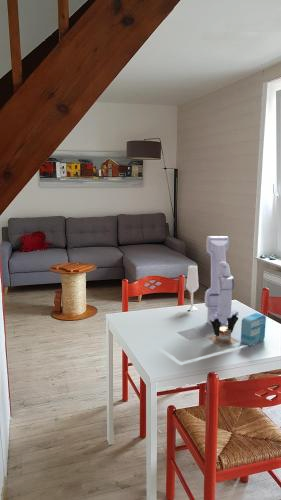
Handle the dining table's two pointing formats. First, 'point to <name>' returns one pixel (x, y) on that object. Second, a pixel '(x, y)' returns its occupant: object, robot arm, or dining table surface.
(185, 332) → the slate stand
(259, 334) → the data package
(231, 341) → the walnut stand
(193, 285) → the champagne flute
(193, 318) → the dining table surface
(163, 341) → the dining table surface
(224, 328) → the orange-brown cube
